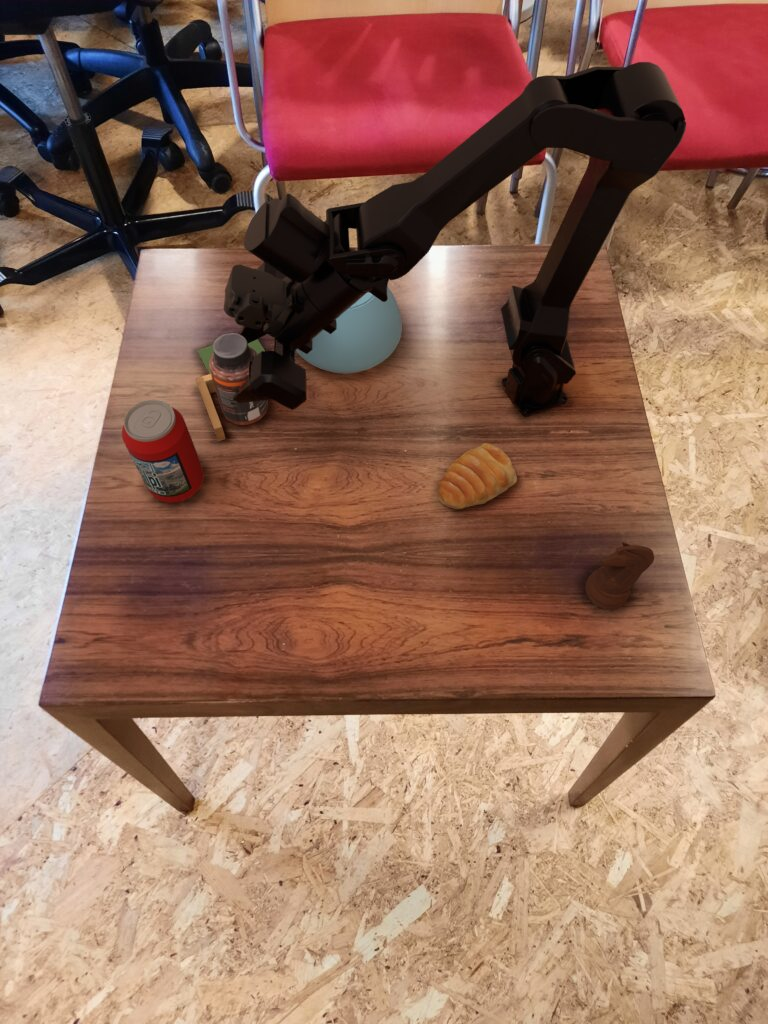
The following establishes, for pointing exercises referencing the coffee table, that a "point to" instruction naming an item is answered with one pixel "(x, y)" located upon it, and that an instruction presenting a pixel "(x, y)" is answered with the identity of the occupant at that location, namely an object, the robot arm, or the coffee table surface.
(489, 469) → the pastry
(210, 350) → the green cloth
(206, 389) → the corner guard
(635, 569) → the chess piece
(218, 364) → the supplement bottle
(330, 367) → the sugar bowl
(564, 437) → the coffee table surface
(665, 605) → the coffee table surface
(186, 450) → the beverage can
